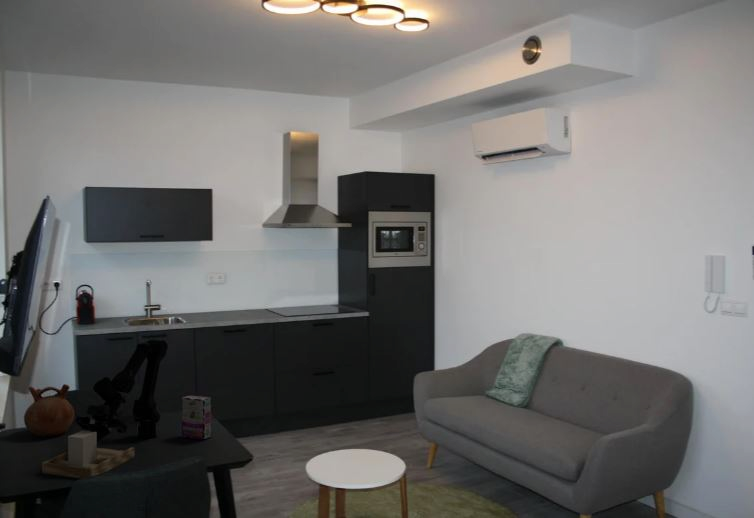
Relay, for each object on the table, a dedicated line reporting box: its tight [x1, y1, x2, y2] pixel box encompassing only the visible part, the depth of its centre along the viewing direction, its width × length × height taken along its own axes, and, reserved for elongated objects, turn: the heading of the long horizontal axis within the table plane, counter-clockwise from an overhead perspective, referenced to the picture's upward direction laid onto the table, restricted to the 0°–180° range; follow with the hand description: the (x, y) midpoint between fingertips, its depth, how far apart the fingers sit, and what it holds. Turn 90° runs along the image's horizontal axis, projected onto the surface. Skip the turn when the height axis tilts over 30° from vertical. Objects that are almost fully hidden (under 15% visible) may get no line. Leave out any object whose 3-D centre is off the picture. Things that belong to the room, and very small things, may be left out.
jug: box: [23, 384, 75, 438], centre depth 269 cm, size 18×18×20 cm
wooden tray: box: [41, 446, 136, 479], centre depth 233 cm, size 24×20×4 cm
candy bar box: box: [181, 394, 212, 440], centre depth 265 cm, size 11×5×16 cm, turn 68°
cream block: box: [67, 430, 98, 467], centre depth 229 cm, size 7×6×10 cm
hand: (90, 445), depth 233 cm, fingers closed
